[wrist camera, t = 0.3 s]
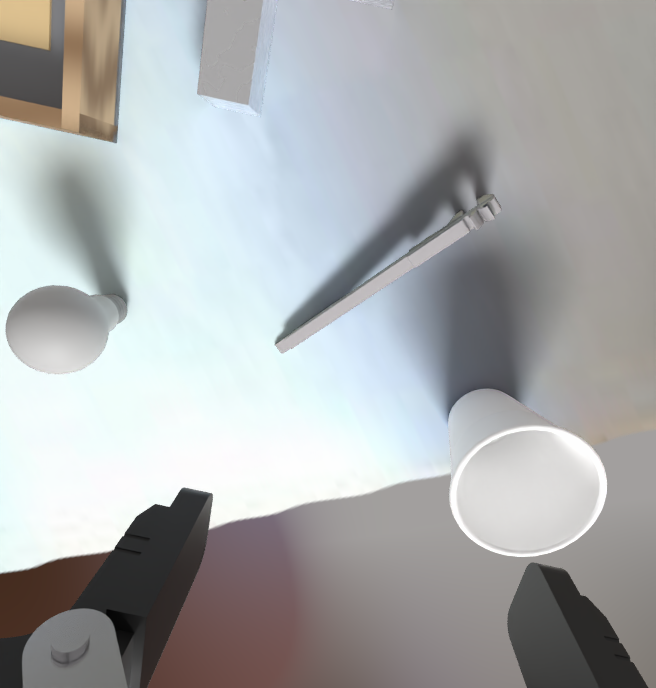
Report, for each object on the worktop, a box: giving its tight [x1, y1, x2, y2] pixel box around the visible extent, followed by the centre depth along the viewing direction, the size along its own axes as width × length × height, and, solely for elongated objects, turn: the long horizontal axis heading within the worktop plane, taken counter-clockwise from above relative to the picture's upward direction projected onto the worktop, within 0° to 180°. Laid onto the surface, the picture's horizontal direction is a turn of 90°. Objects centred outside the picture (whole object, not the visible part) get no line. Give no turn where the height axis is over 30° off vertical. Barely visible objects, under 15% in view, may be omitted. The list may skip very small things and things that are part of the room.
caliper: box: [275, 194, 502, 353], centre depth 34 cm, size 20×1×6 cm, turn 127°
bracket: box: [197, 0, 394, 117], centre depth 30 cm, size 12×12×4 cm
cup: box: [448, 389, 607, 557], centre depth 35 cm, size 10×10×11 cm
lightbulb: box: [6, 285, 127, 374], centre depth 34 cm, size 6×6×11 cm
